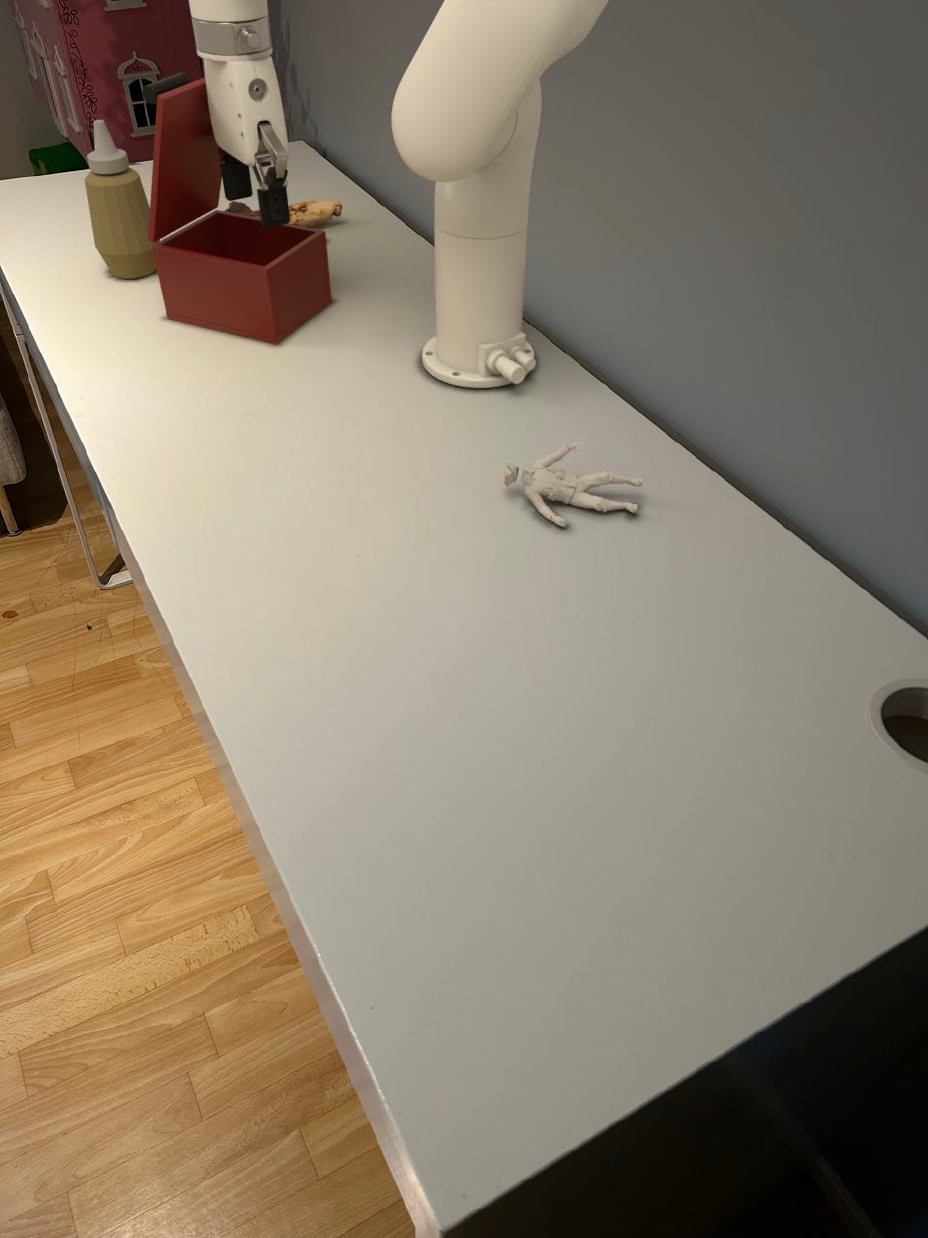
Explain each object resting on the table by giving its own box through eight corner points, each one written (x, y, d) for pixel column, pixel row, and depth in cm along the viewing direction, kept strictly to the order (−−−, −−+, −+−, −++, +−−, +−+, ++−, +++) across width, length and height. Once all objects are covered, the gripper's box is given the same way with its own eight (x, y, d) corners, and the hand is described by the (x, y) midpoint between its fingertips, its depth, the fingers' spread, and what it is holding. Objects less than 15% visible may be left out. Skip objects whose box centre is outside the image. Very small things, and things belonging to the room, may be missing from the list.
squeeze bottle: (174, 259, 126) (143, 112, 113) (153, 285, 120) (119, 132, 107) (115, 256, 126) (79, 109, 114) (92, 281, 120) (51, 130, 108)
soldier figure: (631, 543, 84) (506, 509, 81) (611, 546, 88) (491, 514, 86) (650, 459, 84) (526, 422, 81) (628, 467, 89) (510, 432, 86)
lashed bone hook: (231, 260, 127) (357, 237, 132) (225, 225, 123) (354, 203, 128) (215, 233, 132) (336, 212, 138) (209, 199, 129) (333, 179, 134)
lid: (235, 70, 103) (197, 48, 103) (163, 99, 94) (122, 74, 95) (218, 207, 115) (184, 187, 115) (153, 243, 107) (116, 221, 107)
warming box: (332, 301, 117) (325, 230, 111) (276, 344, 108) (266, 270, 102) (228, 278, 121) (216, 209, 115) (167, 318, 113) (151, 245, 107)
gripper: (305, 49, 90) (322, 229, 102) (232, 15, 100) (255, 182, 112) (233, 59, 87) (259, 243, 99) (165, 23, 97) (196, 194, 109)
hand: (257, 211), depth 105 cm, fingers open, 9 cm apart
